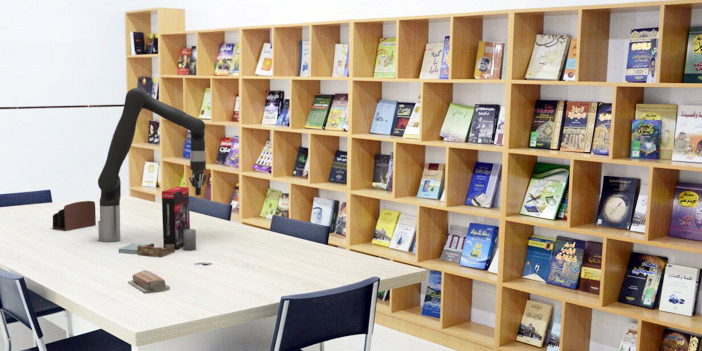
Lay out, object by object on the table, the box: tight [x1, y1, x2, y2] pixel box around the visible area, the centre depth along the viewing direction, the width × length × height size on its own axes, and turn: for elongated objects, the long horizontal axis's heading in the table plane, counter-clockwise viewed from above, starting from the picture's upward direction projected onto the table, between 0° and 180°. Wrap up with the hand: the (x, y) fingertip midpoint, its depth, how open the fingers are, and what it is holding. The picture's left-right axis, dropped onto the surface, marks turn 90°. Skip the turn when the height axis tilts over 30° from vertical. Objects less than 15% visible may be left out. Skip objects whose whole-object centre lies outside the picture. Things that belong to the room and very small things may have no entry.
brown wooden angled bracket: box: [137, 243, 175, 258], centre depth 341 cm, size 12×11×4 cm
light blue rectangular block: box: [118, 242, 150, 255], centre depth 347 cm, size 9×13×2 cm
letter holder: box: [52, 200, 97, 232], centre depth 398 cm, size 10×20×14 cm, turn 150°
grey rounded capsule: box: [182, 228, 197, 252], centre depth 351 cm, size 6×6×9 cm
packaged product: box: [127, 270, 171, 294], centre depth 287 cm, size 18×5×10 cm
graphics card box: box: [161, 186, 191, 251], centre depth 355 cm, size 17×7×27 cm, turn 169°
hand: (198, 195), depth 373 cm, fingers closed
